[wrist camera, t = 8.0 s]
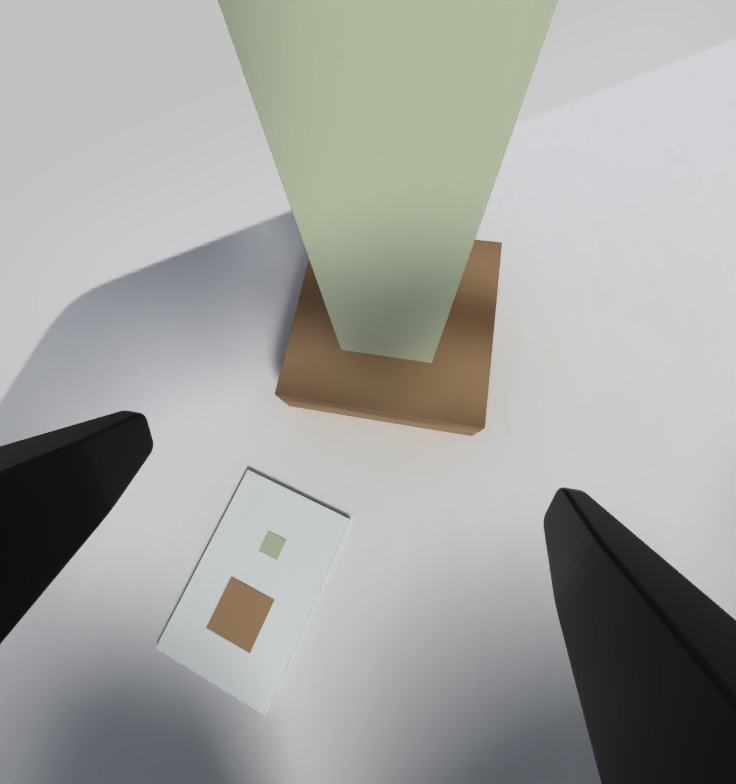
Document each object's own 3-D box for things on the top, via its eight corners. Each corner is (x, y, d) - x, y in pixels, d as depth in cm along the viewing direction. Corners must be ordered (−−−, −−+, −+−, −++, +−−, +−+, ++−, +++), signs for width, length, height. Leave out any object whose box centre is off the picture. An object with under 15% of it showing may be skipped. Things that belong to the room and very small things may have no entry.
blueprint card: (266, 713, 15) (264, 716, 15) (157, 647, 16) (154, 649, 16) (350, 519, 17) (350, 519, 17) (248, 469, 18) (247, 469, 18)
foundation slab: (471, 435, 18) (484, 428, 16) (289, 405, 19) (274, 394, 17) (488, 271, 21) (501, 242, 18) (326, 252, 22) (318, 223, 19)
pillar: (431, 363, 17) (562, -11, 4) (341, 349, 17) (209, -24, 5) (443, 281, 18) (573, -206, 5) (357, 271, 18) (288, -200, 6)
